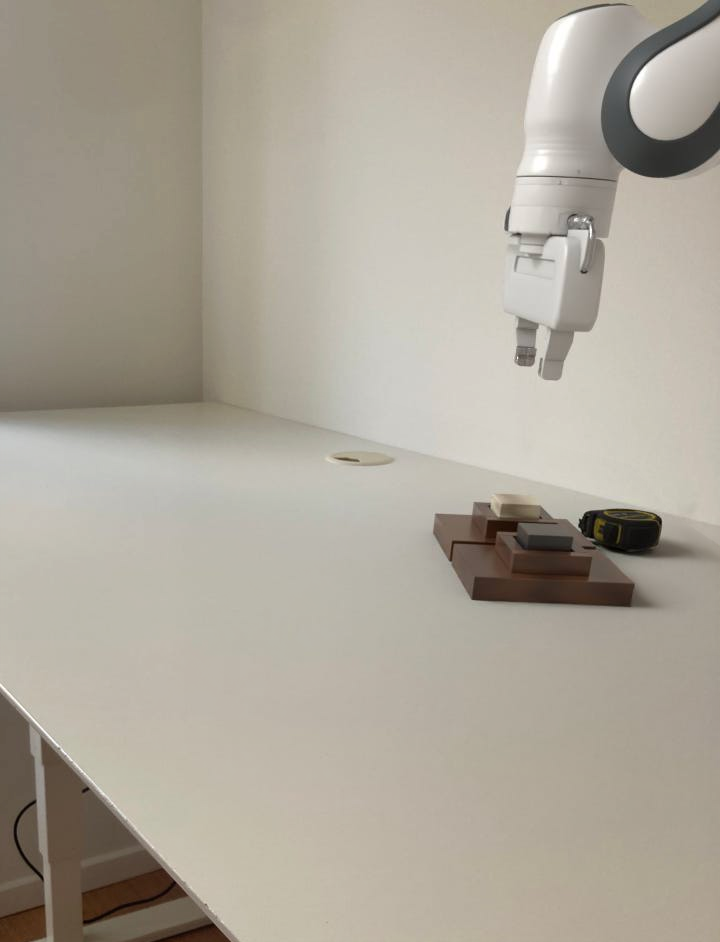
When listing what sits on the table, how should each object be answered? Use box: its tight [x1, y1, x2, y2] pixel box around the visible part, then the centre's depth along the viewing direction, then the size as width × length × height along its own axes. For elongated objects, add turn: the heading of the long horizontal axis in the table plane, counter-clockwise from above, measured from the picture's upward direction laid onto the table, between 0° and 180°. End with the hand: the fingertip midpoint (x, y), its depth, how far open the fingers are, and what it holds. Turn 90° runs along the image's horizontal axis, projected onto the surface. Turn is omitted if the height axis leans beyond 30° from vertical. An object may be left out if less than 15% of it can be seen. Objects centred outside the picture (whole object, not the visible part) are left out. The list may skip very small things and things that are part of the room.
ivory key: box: [490, 493, 542, 519], centre depth 103 cm, size 4×4×2 cm
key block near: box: [451, 532, 636, 608], centre depth 94 cm, size 14×10×4 cm
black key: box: [516, 523, 573, 552], centre depth 93 cm, size 4×4×2 cm
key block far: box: [432, 501, 597, 563], centre depth 104 cm, size 14×10×4 cm
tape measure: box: [577, 508, 663, 553], centre depth 106 cm, size 7×7×4 cm
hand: (535, 372), depth 98 cm, fingers open, 8 cm apart
